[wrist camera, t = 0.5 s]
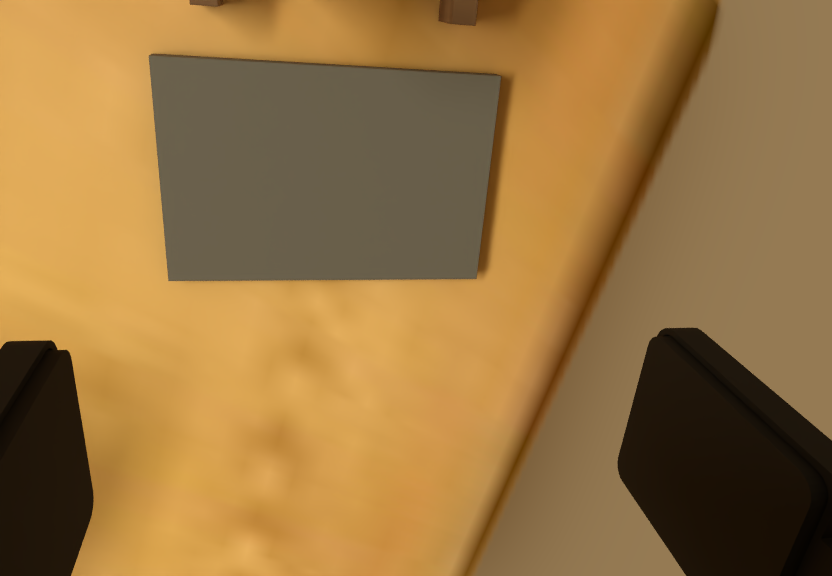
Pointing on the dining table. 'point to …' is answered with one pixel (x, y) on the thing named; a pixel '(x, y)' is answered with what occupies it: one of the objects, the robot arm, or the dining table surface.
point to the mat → (320, 169)
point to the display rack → (454, 9)
